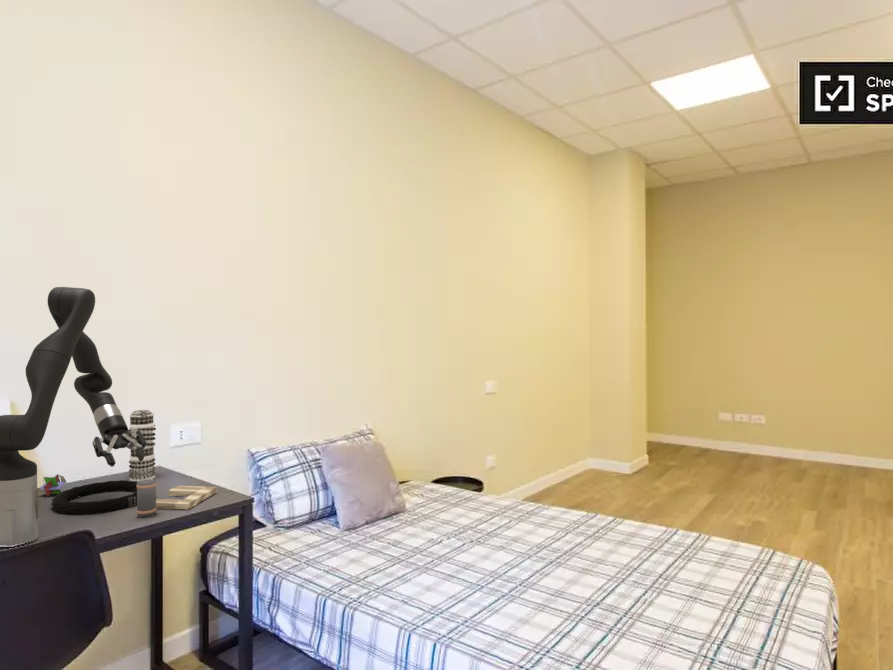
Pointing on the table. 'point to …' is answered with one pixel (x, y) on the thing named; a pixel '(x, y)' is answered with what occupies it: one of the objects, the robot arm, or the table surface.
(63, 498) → the cable lock
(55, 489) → the geometric puzzle
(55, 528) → the table surface
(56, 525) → the table surface
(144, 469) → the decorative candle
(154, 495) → the grey banded cylinder
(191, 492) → the wooden u-shaped frame
